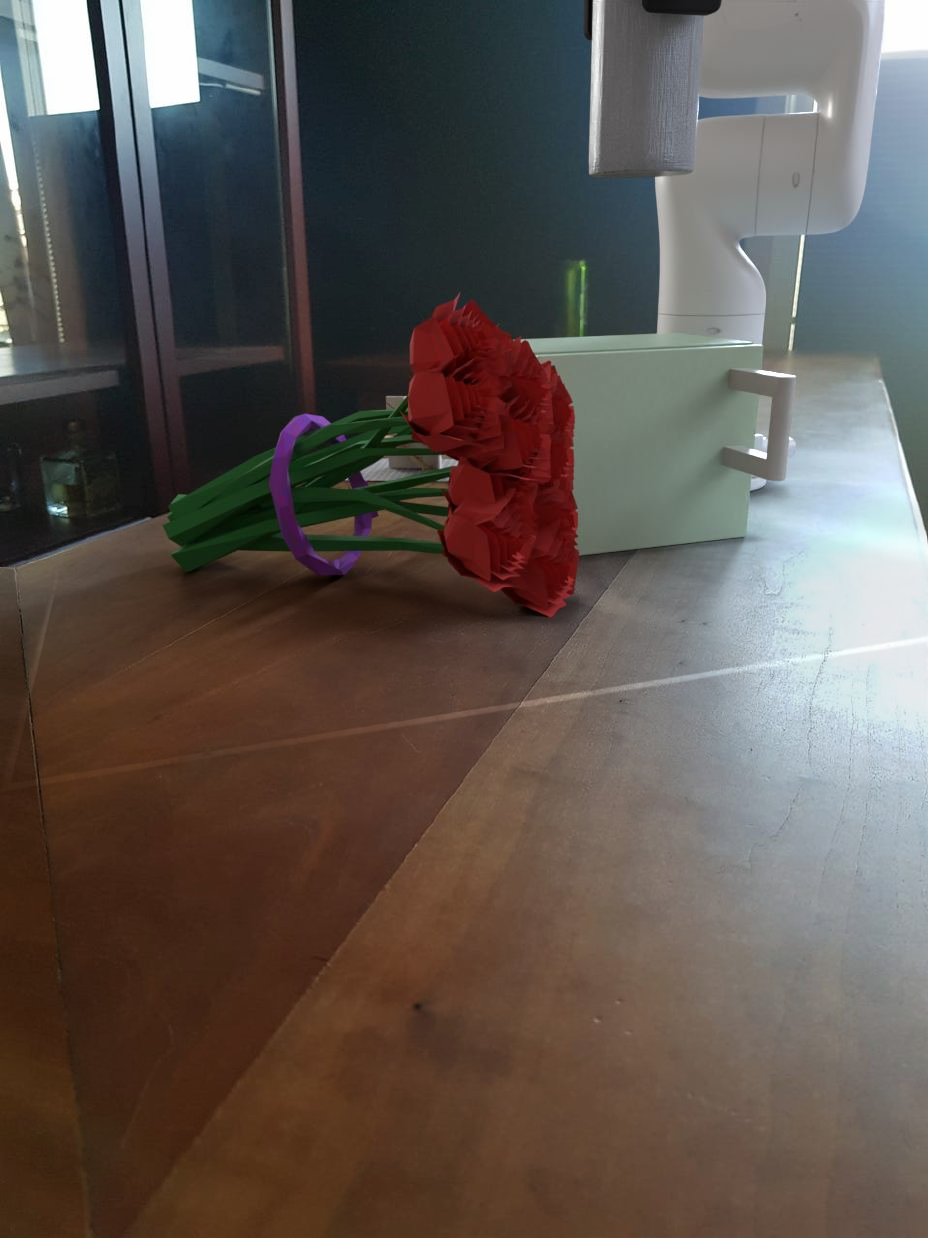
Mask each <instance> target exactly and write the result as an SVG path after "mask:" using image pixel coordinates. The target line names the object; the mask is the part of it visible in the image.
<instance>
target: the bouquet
mask: <svg viewBox="0 0 928 1238" xmlns="http://www.w3.org/2000/svg"><path fill="white" fill-rule="evenodd" d="M460 295H461V292H459V293H458V294H457V296H455V298H454V299H453V300H451V301H448V302H444V303H443V304H440V305H437V306H435V308H434V311H433V313H432V316H431V317H429V318H428V319H426V320H425V321H423V322H421V323H420V324H418V325H417V326H415V327H414V328H413V331H412V334H411V338H410V341H409V366H410V368H411V373H412V375H413V377H411V376H410V375H409V374H408V373H407V374H406V375H407V376H408V377H409V378H411V380H410V381H409V386H408V394H407V395H406V396H407V397H406V398H405V399H404V400H403V401H402V402H401V403H400V404H399V406H398V407H397V408H396V409H392V410H386V409H377V410H376V409H375V410H359V411H357V412H355V413H352V414H350V415H347V416H345V417H343V418H340V419H337V420H336V421H334V422H332V423H331V422H330V421H329V420H328V419H326V418H325V417H324V416H322V415H315V414H309V413H303V414H299V415H296V416H294V417H292V419H291V420H290V421H289V422H288V423H287V425H285V427H284V428H283V429H282V430H281V431H280V433H279V437H278V439H277V443H276V446H275V447H274V448H271V449H269V450H266V451H264V452H262V453H260V454H259V453H258V454H257V455H255V456H252V457H251V458H249V459H248V460H246V461H244V462H242V463H241V464H239V465H237V466H235V467H233V468H232V469H230V470H228V471H227V472H224V474H222V475H220V476H218V477H216V478H214V479H213V480H211V481H209V482H208V483H206V484H204V485H202V486H201V487H199V488H197V489H195V490H194V491H191V492H190V493H188V494H181V493H179V494H177V495H176V496H175V498H173V499H172V501H171V502H170V504H169V505H168V506H167V508H168V510H169V511H170V512H169V513H168V515H167V519H168V521H169V522H166V523H164V524H162V527H163V530H164V532H165V535H166V536H167V538H168V540H170V541H171V542H173V543H174V544H176V545H178V546H180V547H179V548H177V549H176V550H175V551H173V552H172V553H171V554H170V557H172V558H173V560H174V561H175V562H176V563H177V564H178V565H179V566H180V567H181V568H182V569H183V571H184V572H186V573H190V572H192V571H194V570H197V569H199V568H201V567H203V566H205V565H208V564H210V563H212V562H215V561H217V560H220V559H222V558H225V557H226V556H228V555H231V554H233V553H235V552H238V551H246V552H291V553H292V555H293V557H294V559H295V560H296V561H297V562H299V563H300V564H301V565H303V566H305V567H306V568H307V569H308V570H309V571H311V572H312V573H314V574H315V575H317V576H345V575H346V574H347V573H348V572H349V571H350V570H351V568H352V567H353V566H354V565H355V563H356V562H357V561H358V560H359V558H360V556H361V554H362V552H385V551H386V552H388V551H389V552H392V551H396V552H397V551H398V552H399V551H405V552H414V553H415V552H416V553H425V554H436V555H442V556H443V557H445V558H446V559H447V562H448V563H449V564H450V565H451V567H453V569H454V570H455V571H456V573H458V574H459V575H460V576H461V577H465V578H469V579H472V580H475V581H476V582H478V583H480V584H481V585H483V586H484V587H486V588H487V589H489V590H490V591H492V592H494V593H496V592H498V591H501V592H502V593H503V594H504V595H505V596H506V597H508V599H509V600H510V601H511V602H512V603H513V604H515V605H516V606H522V607H526V608H528V609H530V610H533V611H535V612H537V613H540V614H542V615H544V616H547V617H549V618H552V617H554V616H555V615H556V613H557V612H558V611H559V610H560V609H561V608H563V607H566V606H567V602H565V601H564V599H567V598H569V597H571V596H573V595H574V594H575V589H576V581H577V574H578V565H579V557H580V556H579V550H578V549H575V547H574V546H577V545H578V544H577V543H576V541H575V538H577V537H579V536H578V535H577V534H576V530H577V527H578V513H577V512H576V509H578V508H577V504H576V501H575V498H574V496H573V493H572V490H574V487H573V480H574V475H573V473H574V450H573V449H571V448H570V447H573V446H574V443H573V438H572V437H574V431H573V429H575V427H574V424H575V414H574V406H569V405H570V404H571V403H573V401H572V399H571V397H570V394H568V391H567V389H566V387H565V385H564V383H563V384H562V380H561V377H560V375H559V376H558V374H557V371H556V368H555V365H552V366H551V361H547V362H545V363H543V364H541V363H540V362H539V361H538V359H537V357H536V356H535V354H534V352H533V351H532V349H531V347H530V344H529V342H528V341H526V340H524V341H523V342H521V339H522V335H520V336H519V337H516V338H515V339H513V338H512V336H511V334H510V333H509V331H506V332H504V331H503V330H502V329H500V328H499V327H498V326H499V325H500V323H498V324H497V325H496V324H495V323H494V322H493V321H492V320H491V319H490V317H488V316H487V315H486V314H485V313H484V311H482V308H481V307H480V306H479V305H478V304H477V302H476V301H475V300H472V299H470V300H469V301H468V302H466V303H465V305H464V306H463V307H461V308H459V309H457V310H456V307H457V304H458V301H459V298H460ZM407 408H408V409H407ZM306 432H308V433H306ZM305 433H306V434H305ZM357 433H358V435H356V436H355V435H354V436H352V437H350V438H348V439H346V437H345V436H347V435H351V434H357ZM359 433H361V434H359ZM397 433H398V434H397ZM389 434H396V435H395V436H393V437H389V438H384V437H385V436H387V435H389ZM327 443H329V445H328V446H326V447H324V448H321V449H319V450H318V448H319V447H320V446H323V445H325V444H327ZM410 443H422V444H424V445H426V446H428V447H429V448H396V447H398V446H399V445H404V444H410ZM316 448H317V450H316V451H313V452H311V451H312V450H314V449H316ZM309 452H310V453H309ZM307 453H308V454H307ZM413 455H442V456H446V457H448V458H449V459H455V460H457V461H459V462H458V465H457V466H450V467H446V468H442V469H438V470H434V471H429V472H425V473H421V474H417V475H412V476H408V477H404V478H400V479H395V480H391V481H381V482H378V483H372V484H369V481H365V480H364V478H363V476H362V473H361V471H362V470H363V469H365V468H367V467H369V466H371V465H372V464H374V463H376V462H378V461H379V460H380V459H384V457H389V456H413ZM448 477H449V481H447V482H448V483H447V488H444V487H419V486H422V485H426V484H430V483H433V482H438V481H437V480H441V479H444V478H448ZM347 478H348V480H346V479H347ZM344 481H348V483H349V485H350V488H338V487H337V488H335V486H336V485H339V484H340V483H343V482H344ZM439 497H444V498H445V500H446V501H447V503H448V504H447V506H441V505H433V504H424V503H417V502H408V501H407V500H413V499H422V498H423V499H424V498H439ZM382 511H387V512H389V513H391V514H395V515H398V516H400V517H403V518H406V519H409V520H411V521H414V522H416V523H419V524H421V525H424V526H426V527H429V528H432V529H434V530H437V531H436V532H437V535H438V537H439V540H440V542H437V541H430V540H429V541H428V540H421V539H413V538H405V537H385V536H383V537H382V536H369V535H370V533H371V531H372V528H373V527H372V525H373V519H374V518H378V517H379V512H382ZM424 515H430V516H438V517H446V520H445V521H444V524H442V523H439V522H437V521H434V520H432V519H430V518H428V517H426V516H424ZM353 517H354V525H353V527H354V529H353V531H354V532H353V534H352V535H338V534H337V535H335V534H310V533H309V534H308V533H305V532H304V530H303V528H307V527H311V526H315V525H316V526H317V525H320V524H321V525H322V524H326V523H330V522H335V521H339V520H343V519H344V520H345V519H348V518H349V519H350V518H353ZM316 552H343V553H342V555H341V556H340V557H338V558H336V559H333V560H331V561H329V560H327V559H325V558H323V557H321V556H319V555H318V554H316Z"/></svg>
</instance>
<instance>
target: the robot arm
mask: <svg viewBox="0 0 928 1238" xmlns="http://www.w3.org/2000/svg"><path fill="white" fill-rule="evenodd" d="M642 5H643V8H644V9H645V11H647V12H649V13H662V14H681V15H699V16H704V27H703V43H702V58H701V74H700V90H699V98H700V97H702V98H705V99H745V98H746V99H747V98H748V99H749V98H763V97H783V96H796V95H805V96H809V97H811V98H812V99H813V100H814V101H815V102H816V105H817V106H818V111H808V112H807V111H806V112H789V113H773V114H766V113H756V114H740V115H739V114H738V115H723V116H721V115H720V116H711V117H705V118H700V119H698V122H697V137H696V153H695V163H694V171H693V172H692V173H690V174H684V175H675V176H663V177H654V185H655V187H654V188H655V189H654V191H655V198H656V199H655V200H656V210H657V212H656V213H657V223H658V233H659V234H658V239H659V281H658V282H659V285H658V286H659V287H658V289H659V290H658V305H657V323H656V325H657V326H656V327H657V328H656V334H662V333H682V334H690V335H698V336H707V337H715V338H724V339H732V340H740V341H749V342H753V343H754V344H753V345H755V344H756V345H763V339H764V338H763V337H764V328H765V317H766V307H767V293H766V292H767V291H766V290H767V289H766V285H765V282H764V279H763V277H762V275H761V273H760V271H759V269H758V268H757V267H756V266H755V264H754V263H753V261H752V260H751V259H750V258H749V257H748V256H747V254H746V253H745V252H744V250H743V249H742V247H741V244H740V241H741V240H743V239H747V238H757V237H766V236H768V237H769V236H771V237H772V236H774V237H775V236H810V235H811V236H812V235H813V236H814V235H815V236H816V235H827V234H832V233H833V234H834V233H837V232H839V231H842V230H844V229H846V228H847V227H849V226H850V225H851V224H852V223H853V221H854V220H855V219H856V217H857V215H858V213H859V211H860V209H861V206H862V202H863V200H864V199H863V198H864V194H865V189H866V185H867V179H868V171H869V162H870V156H871V155H870V154H871V146H872V135H873V128H874V121H875V120H874V118H875V111H876V103H877V101H876V100H877V92H878V84H879V75H880V68H881V57H882V49H883V40H884V27H885V15H886V0H642ZM582 11H583V13H582V15H583V17H582V25H583V26H582V32H583V35H584V37H585V39H586V40H588V41H591V42H592V19H593V0H583V10H582ZM767 445H768V438H766V437H765V435H763V434H759V433H756V434H755V444H754V450H757V451H761V452H764V453H767ZM796 452H797V443H796V441H795V439H793V437H790V440H789V450H788V459H789V458H790V459H791V458H793V457H794V456H795V455H796ZM766 484H767V480H765V479H762V478H759V477H756V476H753V475H752V476H751V487H750V492H753V491H754V492H755V491H757V490H759V489H761V488H763V487H765V486H766Z"/></svg>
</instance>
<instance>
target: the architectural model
mask: <svg viewBox="0 0 928 1238" xmlns="http://www.w3.org/2000/svg"><path fill="white" fill-rule="evenodd" d="M406 397H407V395H404V396H403V395H387V396H385V407H386V409H385V410H392V409H396V408H397V407H398V406H399V404H400V403H401V402H402V401H403V400H404V399H405V398H406ZM407 409H408V408H407ZM397 434H398V433H397ZM395 435H396V434H389V435H387V436H385V437H384V438H389V437H393V436H395ZM396 448H429V447H428V446H426V445H424V444H422V443H410V444H404V445H399V446H398V447H396ZM442 456H443V455H413V456H388V458H382V459H380V460H379V461H378V462H376V463H374V464H372V465H371V466H369V467H367V468H365V469H363V470H362V471H361V473H362V476H363V478H364V480H365V481H368V482H369V481H370V482H371V481H374V482H375V481H377V482H378V481H379V482H380V481H381V482H386V481H391V480H395V479H400V478H404V477H408V476H412V475H417V474H421V473H425V472H429V471H434V470H438V469H442V468H446V467H450V466H457V465H458V462H459V461H457V460H455V459H453V458H443V457H442ZM345 481H349V480H348V478H347V479H346V480H345ZM436 482H449V477H448V478H444V479H441V480H437V481H436Z"/></svg>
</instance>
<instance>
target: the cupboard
mask: <svg viewBox="0 0 928 1238" xmlns="http://www.w3.org/2000/svg"><path fill="white" fill-rule="evenodd" d="M524 340H526V341H528V342H529V344H530V347H531V349H532V351H533V352H534V354H535V355H542V354H563V353H585V352H606V351H627V350H648V349H670V348H691V347H712V346H734V345H753V344H754V343H753V342H749V341H740V340H732V339H724V338H715V337H707V336H698V335H690V334H682V333H662V334H657V333H644V334H642V333H639V334H619V335H618V334H617V335H595V336H594V335H593V336H592V335H591V336H569V337H547V338H545V337H543V338H521V342H523V341H524Z"/></svg>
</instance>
